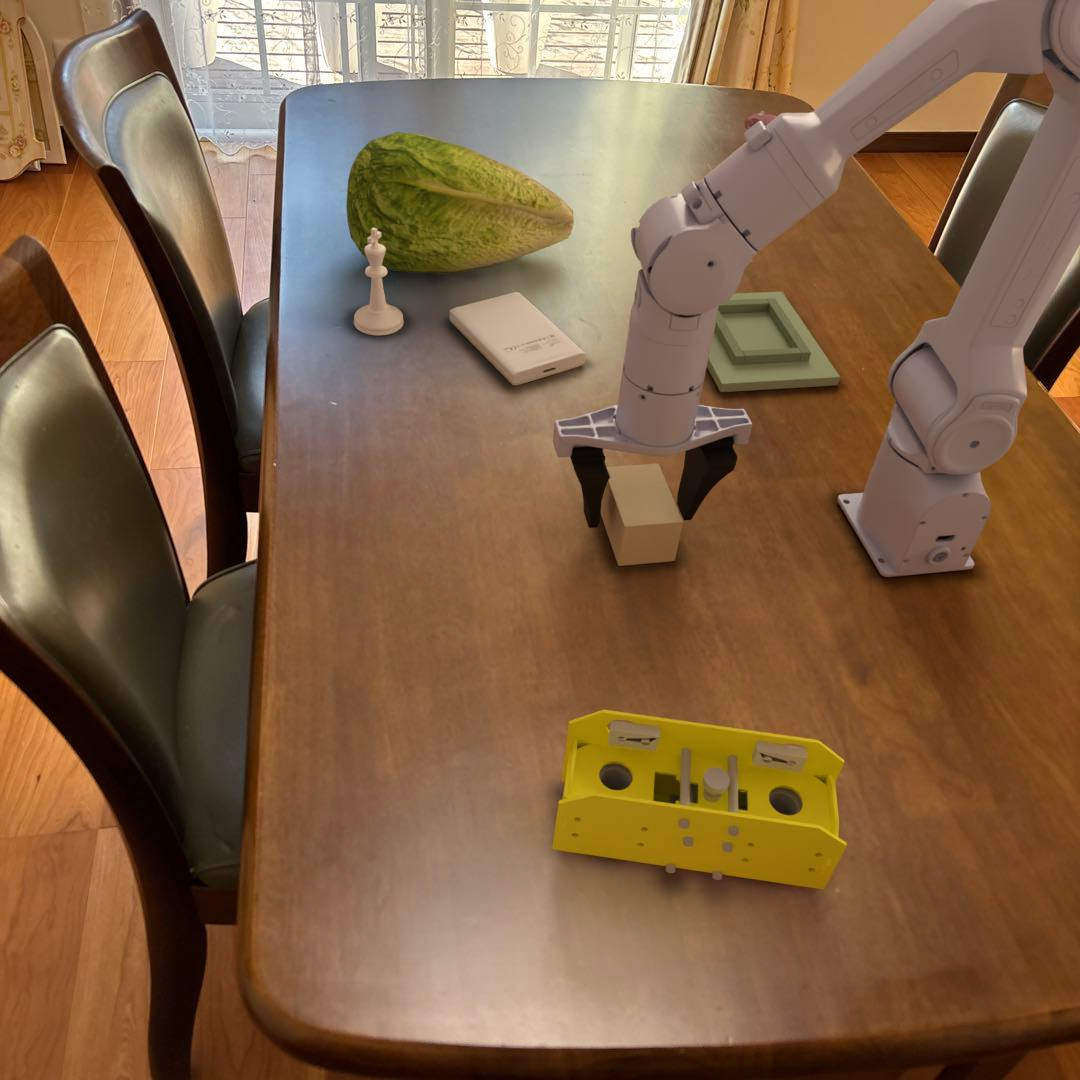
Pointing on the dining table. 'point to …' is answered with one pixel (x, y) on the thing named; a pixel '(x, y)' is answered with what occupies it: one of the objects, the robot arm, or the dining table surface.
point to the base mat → (765, 346)
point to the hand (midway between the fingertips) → (637, 515)
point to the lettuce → (448, 206)
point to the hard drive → (516, 338)
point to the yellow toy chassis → (700, 798)
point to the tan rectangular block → (640, 515)
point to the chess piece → (377, 295)
